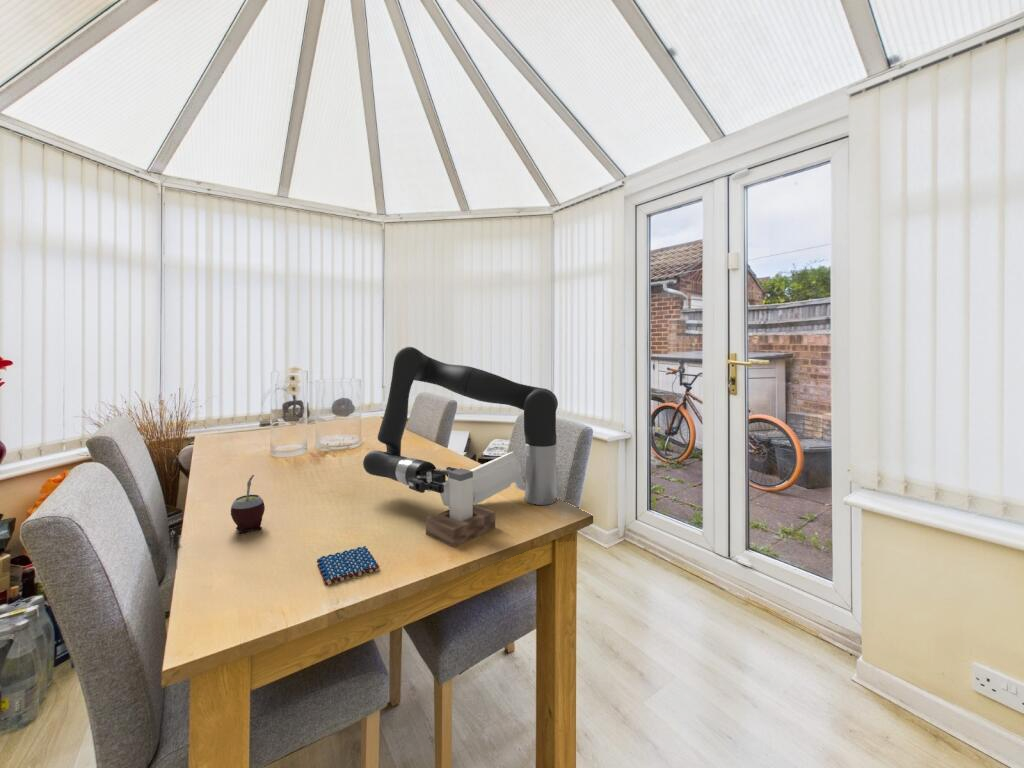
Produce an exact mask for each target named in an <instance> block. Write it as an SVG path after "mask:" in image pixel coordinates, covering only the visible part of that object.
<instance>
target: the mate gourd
mask: <svg viewBox="0 0 1024 768" xmlns="http://www.w3.org/2000/svg"><path fill="white" fill-rule="evenodd" d="M254 477H255V475H254V474H252V475H251V476H250V477H249V478H248V481H247V483H246V484H247V487H246V494H245V495H242V496H239V497H237V498H235V499H234V501H233V502H232V504H231V506H230V507H231V508H230V516H231V519H232V521H233V523H234V524H235V525H236V527H235V530H236V529H240V530H239V533H238V534H243V533H244V534H246V533H247V532H249V531H261V530H262V529H263V527H262V522H263V517H264V514H265V510H266V509H265V502H264V499H263V498H262V497H261V496H260V495H258V494H250V490H251V485H252V480H253V479H254ZM248 530H249V531H248ZM246 531H247V532H246ZM245 532H246V533H245ZM244 534H243V535H244Z"/></svg>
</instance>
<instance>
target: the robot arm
mask: <svg viewBox="0 0 1024 768" xmlns="http://www.w3.org/2000/svg"><path fill="white" fill-rule="evenodd" d="M414 381H416V382H420V383H428V384H431V385H435V386H439V387H442V388H444V389H447V390H448V391H451V392H453V393H455V394H458V395H460V396H463V397H466V398H470V399H473V400H476V401H479V402H483V403H489V404H498V405H507V406H510V407H513V408H517V409H519V410H522V411H523V434H524V439H525V440H524V444H525V447H524V484H525V491H524V501H525V502H527V503H529V504H531V505H535V504H536V505H537V506H538V505H539V506H548V505H552V504H554V503H555V502H556V500H557V498H558V466H557V428H556V426H557V425H556V423H557V409H558V407H559V402H558V398H557V396H556V394H555V393H553V391H552V390H550V389H548V388H542V387H537V386H532V385H527V384H522V383H519V382H515V381H513V380H510V379H507V378H505V377H503V376H500V375H498V374H494V373H491V372H489V371H486V370H483V369H480V368H477V367H473V366H469V365H460V364H451V363H450V364H449V363H445V362H442V361H440V360H437V359H435V358H432V357H430V356H428V355H426V354H424V353H423V352H422V351H420V350H419V349H417V348H415V347H412V346H405V347H402V348H401V349H400V350H398V351H397V353H396V355H395V357H394V360H393V366H392V374H391V381H390V387H389V394H388V398H387V403H386V407H385V410H384V414H383V416H382V421H381V423H380V428H379V431H378V434H377V441H378V442H380V444H381V443H382V444H383V445H385V447H386V451H382V450H372V451H369V452H368V453H367V454H366V455H365V456H364V457H363V461H362V462H363V463H362V466H363V469H364V470H365V472H366V473H368V475H372V476H376V477H382V478H388V479H390V480H393V481H395V482H398V483H402V484H403V485H405V486H408V489H410V490H413V491H415V492H418V493H420V494H423V493H425V492H426V491H427V492H430V493H431V492H435V493H438V494H440V493H443V492H444V485H443V484H449V472H450V471H453V470H457V469H458V468H456V467H451V466H447V467H446V469H441V468H437V467H436V466H435V464H434V463H433V462H430V461H427V460H423V459H419V458H414V457H407V456H403V455H402V456H401V453H402V440H403V436H404V433H405V429H406V425H407V421H408V416H409V397H410V392H411V389H412V386H413V383H414ZM446 478H448V479H446ZM447 480H448V481H447Z"/></svg>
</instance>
